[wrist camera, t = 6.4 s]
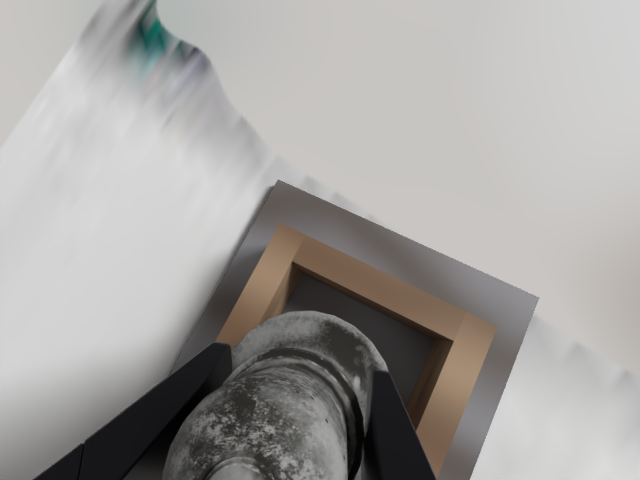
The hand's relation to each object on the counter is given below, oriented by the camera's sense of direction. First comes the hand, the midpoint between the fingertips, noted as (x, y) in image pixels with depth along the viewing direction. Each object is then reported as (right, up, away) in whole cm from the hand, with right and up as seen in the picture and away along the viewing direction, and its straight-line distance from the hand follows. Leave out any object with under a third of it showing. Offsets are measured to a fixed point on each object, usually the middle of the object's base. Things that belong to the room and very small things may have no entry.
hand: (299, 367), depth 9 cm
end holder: (+1, -5, +12) cm, 13 cm away
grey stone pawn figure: (0, -3, +6) cm, 7 cm away
